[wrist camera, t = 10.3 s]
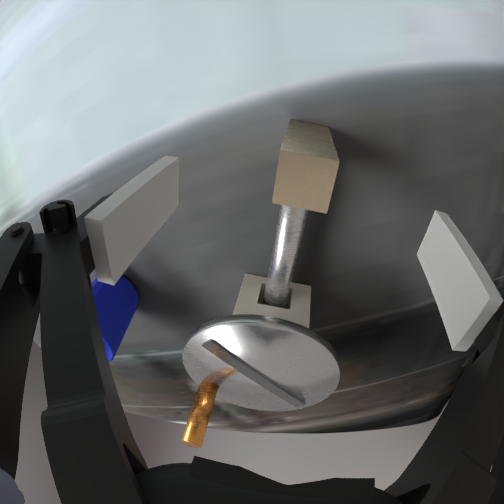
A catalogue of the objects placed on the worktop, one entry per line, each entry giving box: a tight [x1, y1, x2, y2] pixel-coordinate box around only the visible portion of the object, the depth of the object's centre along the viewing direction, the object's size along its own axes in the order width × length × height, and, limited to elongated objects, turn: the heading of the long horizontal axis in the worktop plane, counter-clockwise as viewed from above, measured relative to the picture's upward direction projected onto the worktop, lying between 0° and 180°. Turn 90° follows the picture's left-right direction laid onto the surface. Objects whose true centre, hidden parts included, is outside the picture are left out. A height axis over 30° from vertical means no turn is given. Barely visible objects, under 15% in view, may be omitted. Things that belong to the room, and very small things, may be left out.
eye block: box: [233, 273, 311, 328], centre depth 32 cm, size 7×7×9 cm
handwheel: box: [181, 314, 340, 448], centre depth 25 cm, size 15×15×8 cm
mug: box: [92, 276, 138, 362], centre depth 34 cm, size 8×12×10 cm
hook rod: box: [262, 120, 340, 308], centre depth 27 cm, size 25×3×10 cm, turn 174°
